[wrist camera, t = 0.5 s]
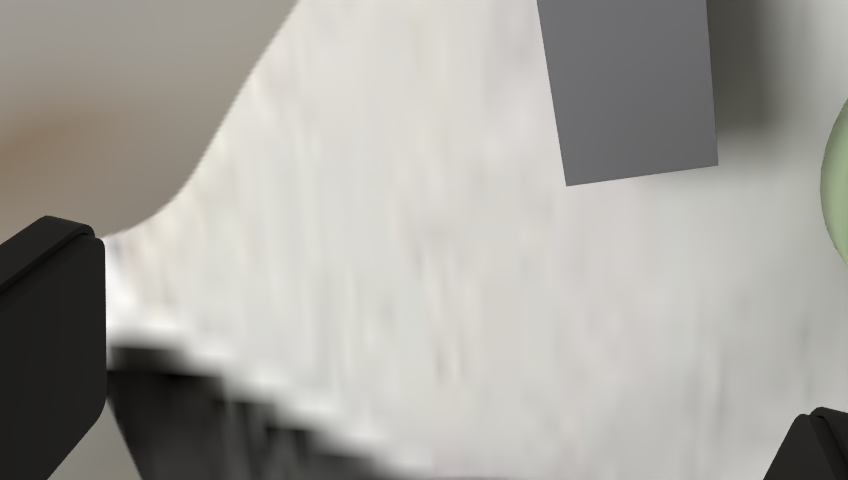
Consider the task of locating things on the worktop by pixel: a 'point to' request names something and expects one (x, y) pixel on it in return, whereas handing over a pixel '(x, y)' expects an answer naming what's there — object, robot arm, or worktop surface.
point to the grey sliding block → (629, 86)
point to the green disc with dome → (836, 184)
